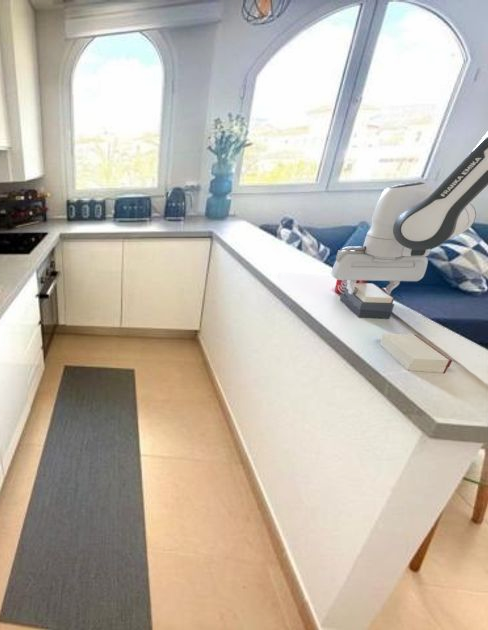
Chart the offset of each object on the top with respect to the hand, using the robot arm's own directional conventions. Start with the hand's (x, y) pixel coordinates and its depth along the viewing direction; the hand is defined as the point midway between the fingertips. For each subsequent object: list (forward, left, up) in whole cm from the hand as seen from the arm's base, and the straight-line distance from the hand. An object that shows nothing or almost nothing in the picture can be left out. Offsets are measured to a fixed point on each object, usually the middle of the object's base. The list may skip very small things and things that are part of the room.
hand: (368, 294), depth 98 cm
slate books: (0, 0, -5) cm, 5 cm away
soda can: (0, -11, -5) cm, 12 cm away
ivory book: (0, 0, 0) cm, 0 cm away
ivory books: (+2, +26, -5) cm, 27 cm away
